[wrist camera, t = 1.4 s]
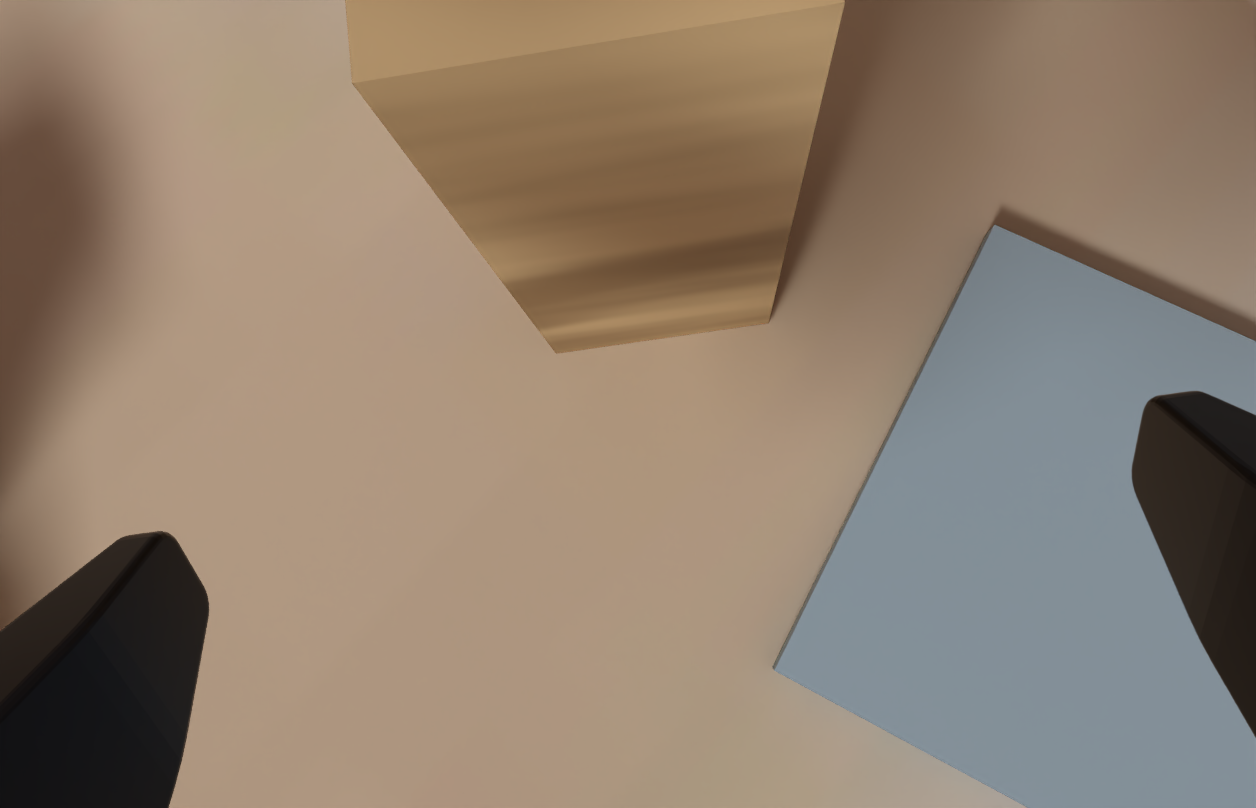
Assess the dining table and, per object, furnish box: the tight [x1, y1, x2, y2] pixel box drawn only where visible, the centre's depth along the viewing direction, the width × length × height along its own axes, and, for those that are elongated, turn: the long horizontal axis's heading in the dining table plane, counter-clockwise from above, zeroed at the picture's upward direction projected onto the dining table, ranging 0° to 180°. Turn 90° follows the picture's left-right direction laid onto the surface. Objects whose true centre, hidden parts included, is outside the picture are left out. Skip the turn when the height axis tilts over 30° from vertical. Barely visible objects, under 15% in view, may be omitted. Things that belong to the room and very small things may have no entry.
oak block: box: [345, 0, 845, 354], centre depth 16 cm, size 5×5×13 cm
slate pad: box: [773, 225, 1256, 808], centre depth 20 cm, size 11×13×1 cm
